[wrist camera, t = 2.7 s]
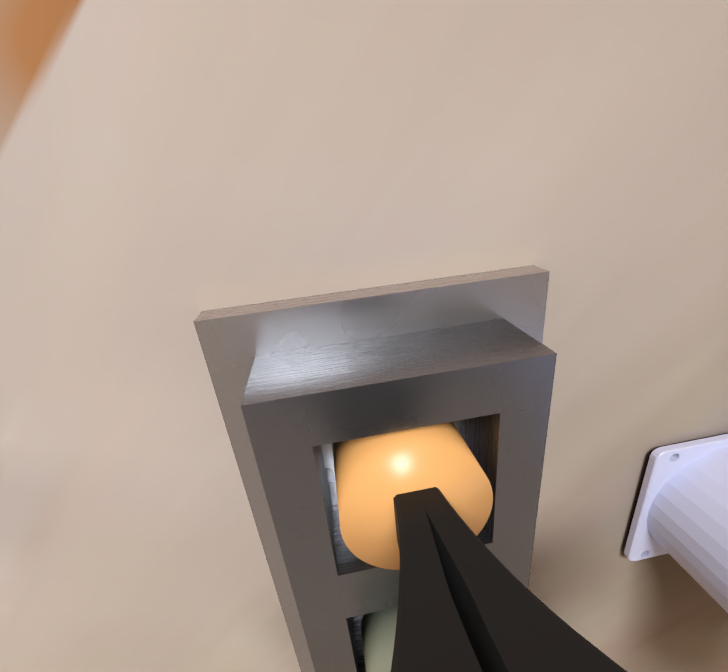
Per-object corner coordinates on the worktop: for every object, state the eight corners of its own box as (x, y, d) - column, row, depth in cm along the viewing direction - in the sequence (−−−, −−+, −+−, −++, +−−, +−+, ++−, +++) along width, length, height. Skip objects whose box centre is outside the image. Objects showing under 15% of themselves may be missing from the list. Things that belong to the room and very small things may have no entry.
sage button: (469, 569, 15) (512, 670, 12) (467, 637, 17) (504, 739, 14) (354, 594, 14) (368, 706, 11) (366, 661, 16) (380, 773, 13)
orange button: (452, 380, 13) (496, 438, 10) (452, 478, 15) (490, 552, 12) (323, 401, 13) (329, 469, 10) (340, 500, 15) (349, 583, 12)
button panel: (532, 265, 13) (617, 294, 10) (498, 674, 24) (532, 760, 21) (201, 311, 12) (157, 364, 9) (322, 719, 23) (325, 818, 20)
